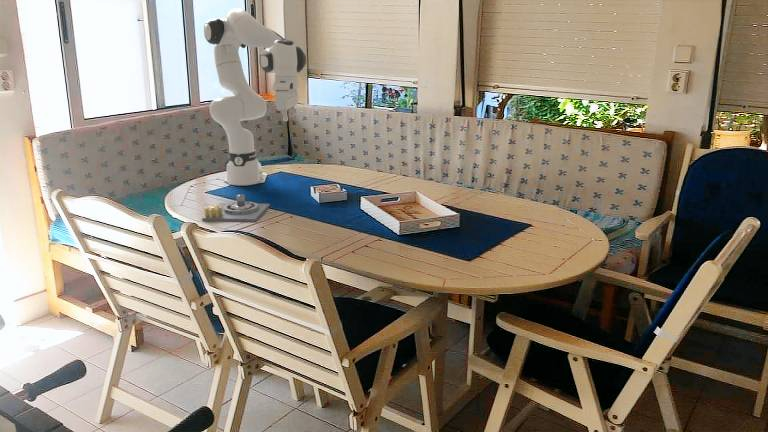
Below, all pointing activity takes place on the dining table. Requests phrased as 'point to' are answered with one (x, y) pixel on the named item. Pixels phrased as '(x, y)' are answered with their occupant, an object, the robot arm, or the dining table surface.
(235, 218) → the carrier board
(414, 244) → the dining table surface
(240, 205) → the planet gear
